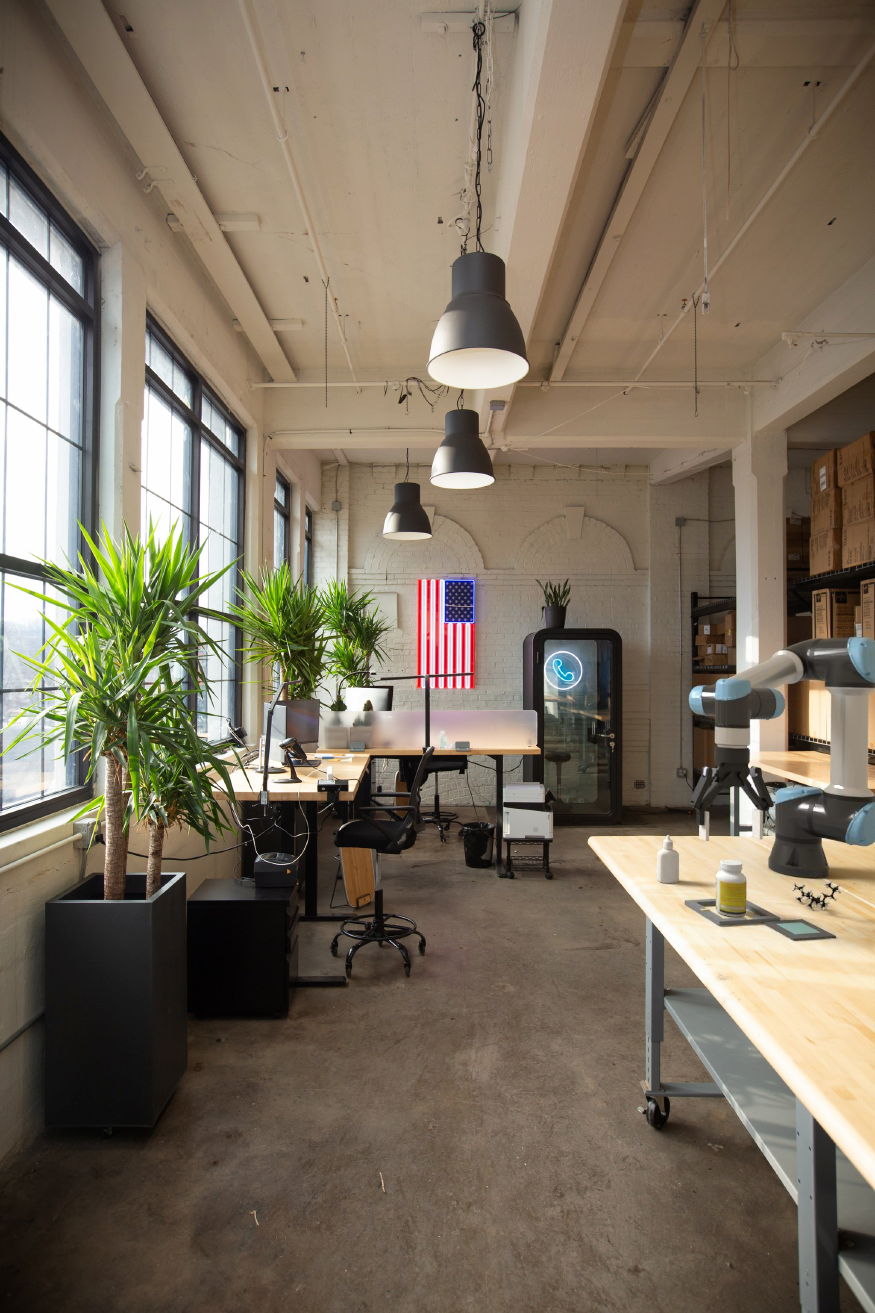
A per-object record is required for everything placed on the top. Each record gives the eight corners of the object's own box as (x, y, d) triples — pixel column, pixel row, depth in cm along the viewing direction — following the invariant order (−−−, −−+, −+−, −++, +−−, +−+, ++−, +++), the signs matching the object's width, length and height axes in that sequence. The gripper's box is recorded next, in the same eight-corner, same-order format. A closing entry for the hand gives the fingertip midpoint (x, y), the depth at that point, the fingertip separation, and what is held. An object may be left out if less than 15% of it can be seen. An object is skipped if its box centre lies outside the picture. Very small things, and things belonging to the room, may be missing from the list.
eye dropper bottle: (656, 878, 188) (656, 833, 188) (678, 880, 187) (678, 834, 187) (656, 883, 184) (657, 836, 184) (679, 885, 182) (680, 838, 183)
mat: (802, 920, 157) (802, 918, 157) (836, 937, 147) (836, 935, 147) (762, 923, 155) (762, 921, 155) (793, 940, 146) (793, 938, 146)
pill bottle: (749, 919, 158) (749, 867, 158) (718, 917, 159) (719, 865, 159) (742, 909, 164) (743, 859, 164) (713, 907, 165) (713, 857, 166)
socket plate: (741, 901, 170) (741, 896, 170) (781, 922, 156) (781, 917, 156) (684, 904, 167) (684, 899, 167) (720, 926, 153) (720, 921, 153)
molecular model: (805, 897, 174) (805, 863, 174) (846, 919, 159) (846, 882, 159) (781, 898, 173) (781, 864, 173) (820, 920, 158) (819, 883, 159)
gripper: (769, 744, 168) (768, 833, 168) (673, 744, 163) (672, 836, 163) (791, 747, 161) (790, 841, 161) (691, 747, 156) (690, 844, 156)
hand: (730, 839), depth 162 cm, fingers open, 13 cm apart
